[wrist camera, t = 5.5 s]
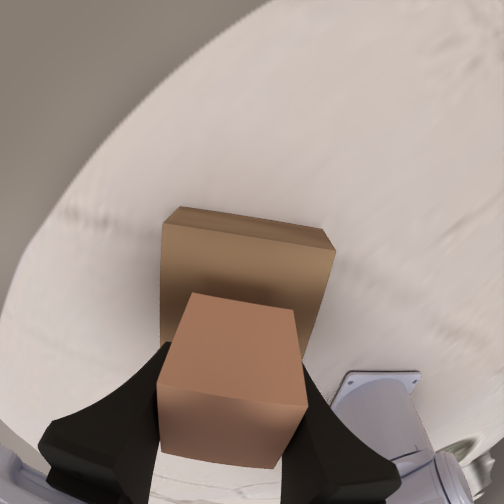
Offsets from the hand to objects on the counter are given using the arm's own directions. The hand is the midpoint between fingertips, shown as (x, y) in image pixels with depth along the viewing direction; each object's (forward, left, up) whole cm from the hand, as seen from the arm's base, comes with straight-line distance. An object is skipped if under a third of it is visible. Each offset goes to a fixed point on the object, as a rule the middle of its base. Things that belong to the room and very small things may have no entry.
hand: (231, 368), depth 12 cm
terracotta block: (0, 0, -2) cm, 2 cm away
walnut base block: (0, 0, -9) cm, 9 cm away
